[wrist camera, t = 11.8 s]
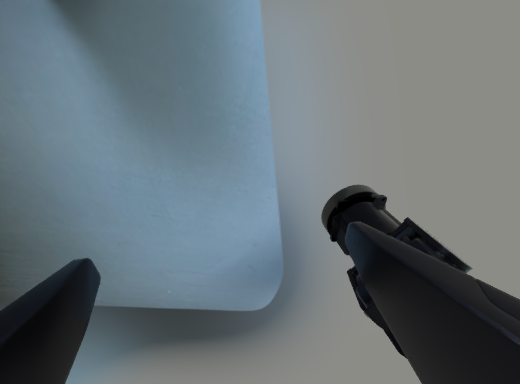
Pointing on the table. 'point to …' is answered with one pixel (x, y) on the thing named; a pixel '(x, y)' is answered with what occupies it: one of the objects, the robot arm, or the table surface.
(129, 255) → the table surface
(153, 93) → the table surface
